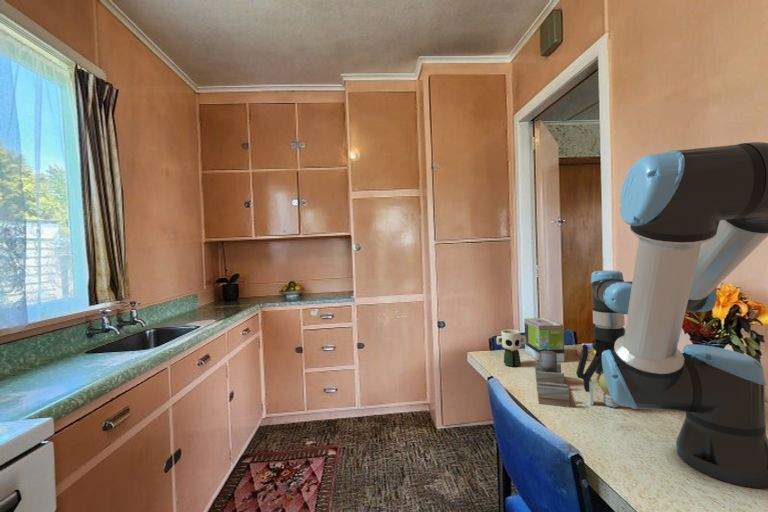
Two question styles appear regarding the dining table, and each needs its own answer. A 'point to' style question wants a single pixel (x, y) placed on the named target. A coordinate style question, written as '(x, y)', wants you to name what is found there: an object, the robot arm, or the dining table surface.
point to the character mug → (511, 346)
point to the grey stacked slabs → (551, 381)
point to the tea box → (544, 337)
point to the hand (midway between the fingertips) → (611, 404)
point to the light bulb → (606, 391)
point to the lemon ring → (590, 357)
